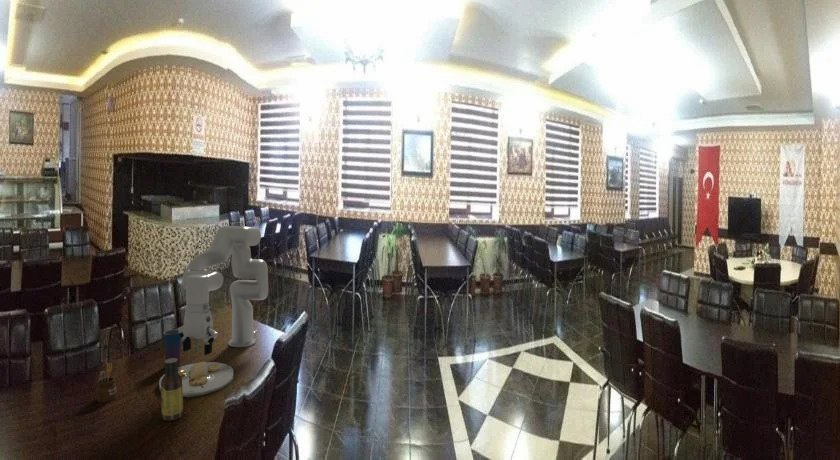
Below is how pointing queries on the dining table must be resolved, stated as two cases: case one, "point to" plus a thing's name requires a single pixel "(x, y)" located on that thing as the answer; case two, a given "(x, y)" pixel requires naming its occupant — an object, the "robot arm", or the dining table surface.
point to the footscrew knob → (198, 374)
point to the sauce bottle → (171, 391)
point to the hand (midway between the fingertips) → (197, 352)
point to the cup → (172, 344)
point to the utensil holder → (106, 387)
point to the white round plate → (217, 379)
